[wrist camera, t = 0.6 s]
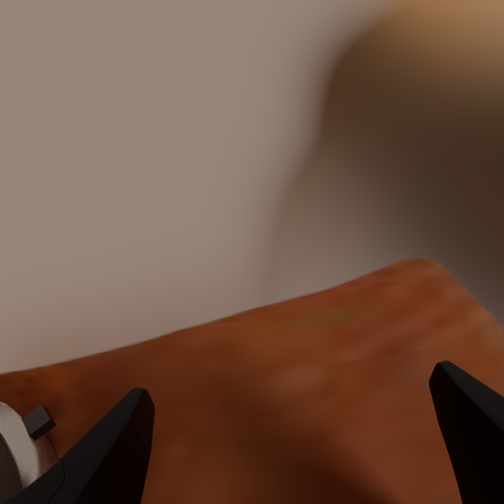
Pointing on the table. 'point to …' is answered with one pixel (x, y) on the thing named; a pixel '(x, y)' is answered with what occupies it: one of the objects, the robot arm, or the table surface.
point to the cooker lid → (8, 472)
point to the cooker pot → (29, 440)
